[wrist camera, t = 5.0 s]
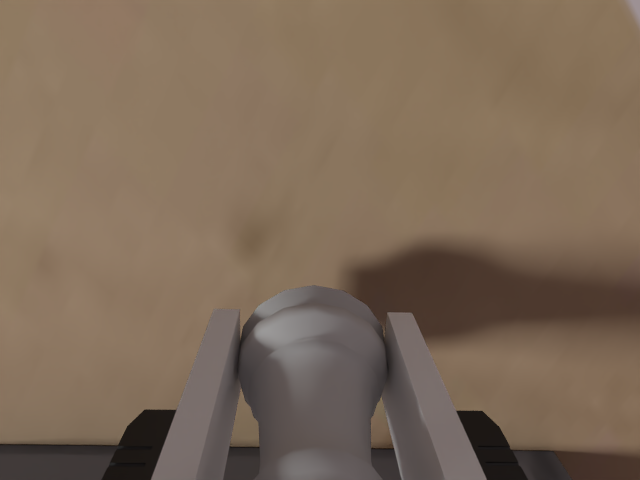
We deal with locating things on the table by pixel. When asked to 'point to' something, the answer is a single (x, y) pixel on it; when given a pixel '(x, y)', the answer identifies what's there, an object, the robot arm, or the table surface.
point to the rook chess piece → (313, 383)
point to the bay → (241, 467)
